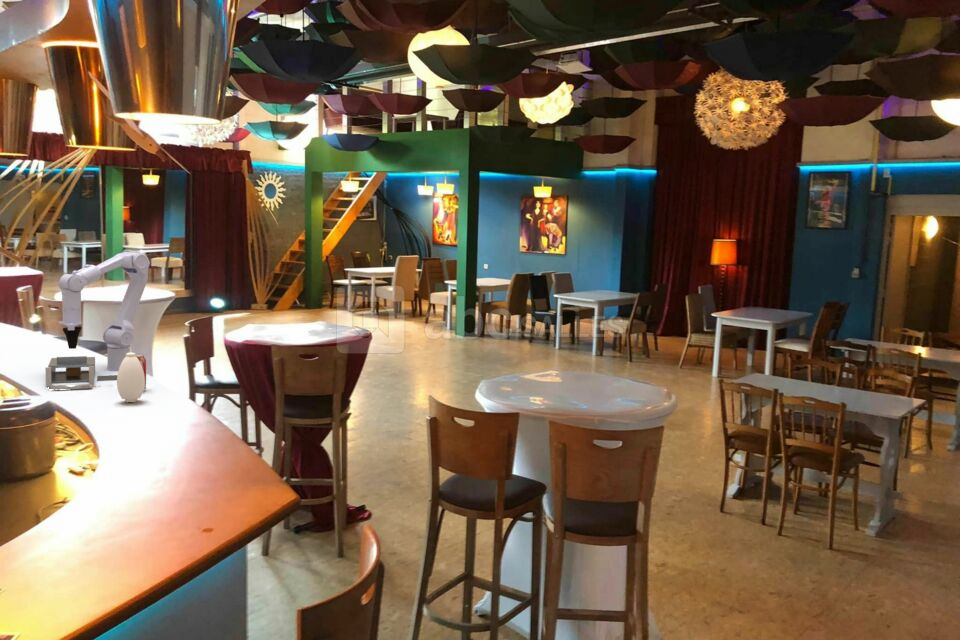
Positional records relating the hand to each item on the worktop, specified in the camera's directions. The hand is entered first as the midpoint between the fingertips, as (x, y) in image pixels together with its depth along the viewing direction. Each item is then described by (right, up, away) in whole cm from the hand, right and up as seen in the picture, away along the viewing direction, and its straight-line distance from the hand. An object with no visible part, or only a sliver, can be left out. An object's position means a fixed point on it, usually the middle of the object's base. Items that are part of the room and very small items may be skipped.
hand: (72, 348), depth 269 cm
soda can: (+28, -14, -14) cm, 34 cm away
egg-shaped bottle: (+33, -16, -29) cm, 47 cm away
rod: (+8, -13, -17) cm, 23 cm away
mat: (+13, -11, +1) cm, 17 cm away
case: (+1, -11, -3) cm, 11 cm away
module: (-2, -9, +4) cm, 10 cm away
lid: (+1, -5, -2) cm, 6 cm away
